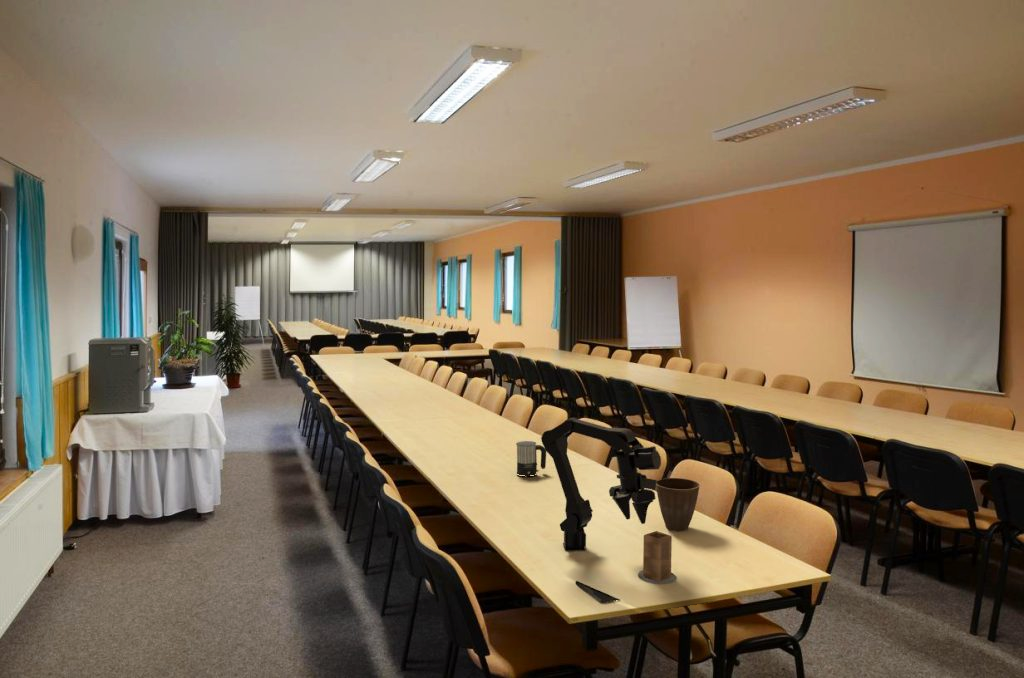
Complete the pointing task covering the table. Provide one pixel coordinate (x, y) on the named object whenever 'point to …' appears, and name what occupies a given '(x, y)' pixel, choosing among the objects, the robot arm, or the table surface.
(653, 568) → the walnut sleeve
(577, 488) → the robot arm
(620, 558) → the table surface
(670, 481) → the plant pot
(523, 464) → the milk frother
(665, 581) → the peg stand
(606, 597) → the phone
